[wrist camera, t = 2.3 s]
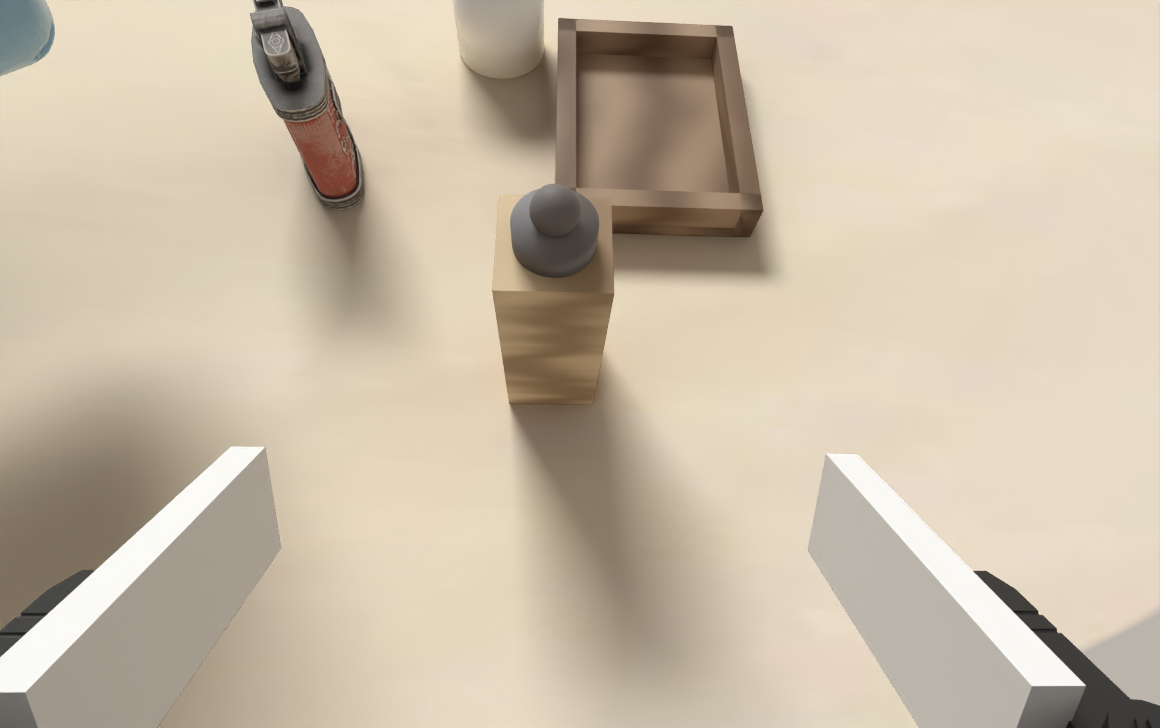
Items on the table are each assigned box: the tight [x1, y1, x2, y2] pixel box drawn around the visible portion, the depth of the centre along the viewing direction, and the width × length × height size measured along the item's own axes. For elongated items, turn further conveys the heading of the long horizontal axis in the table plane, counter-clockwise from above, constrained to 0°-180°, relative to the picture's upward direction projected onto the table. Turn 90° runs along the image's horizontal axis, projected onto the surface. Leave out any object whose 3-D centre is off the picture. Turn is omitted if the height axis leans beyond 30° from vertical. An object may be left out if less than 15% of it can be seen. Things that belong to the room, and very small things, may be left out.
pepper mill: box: [492, 184, 614, 405], centre depth 26 cm, size 4×4×14 cm
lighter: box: [250, 0, 364, 210], centre depth 33 cm, size 8×3×10 cm, turn 20°
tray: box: [555, 18, 763, 237], centre depth 39 cm, size 12×16×2 cm
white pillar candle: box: [452, 0, 544, 79], centre depth 40 cm, size 6×6×6 cm
